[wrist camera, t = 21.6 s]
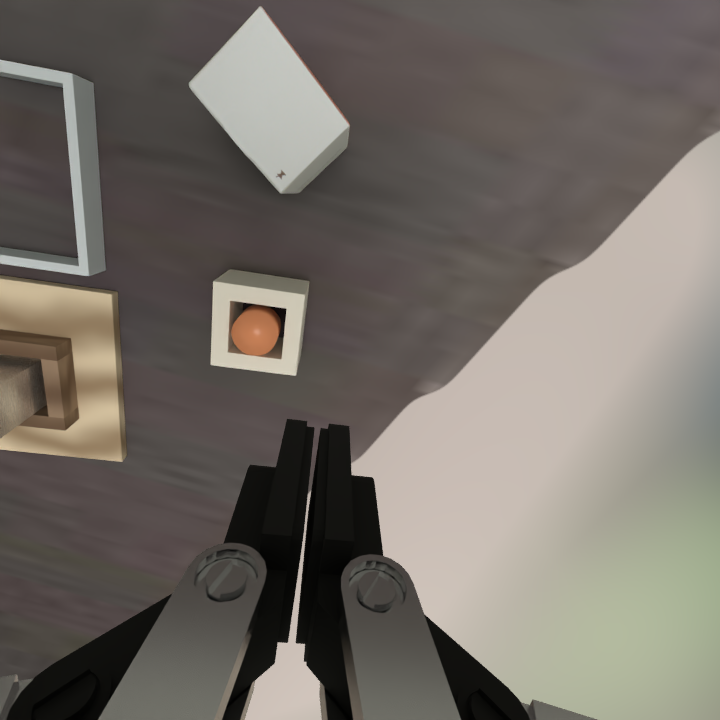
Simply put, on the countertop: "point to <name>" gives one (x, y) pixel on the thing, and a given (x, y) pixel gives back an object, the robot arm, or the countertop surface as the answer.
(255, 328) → the button
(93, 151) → the tote tray
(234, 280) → the button post
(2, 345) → the plate
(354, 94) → the countertop surface
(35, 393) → the block
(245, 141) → the small box
